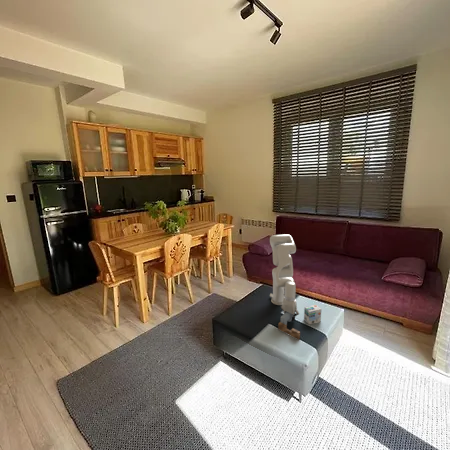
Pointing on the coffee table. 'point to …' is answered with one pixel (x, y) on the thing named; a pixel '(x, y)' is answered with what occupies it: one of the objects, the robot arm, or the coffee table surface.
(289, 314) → the bar
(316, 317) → the light bulb box
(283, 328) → the rail
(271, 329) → the coffee table surface
